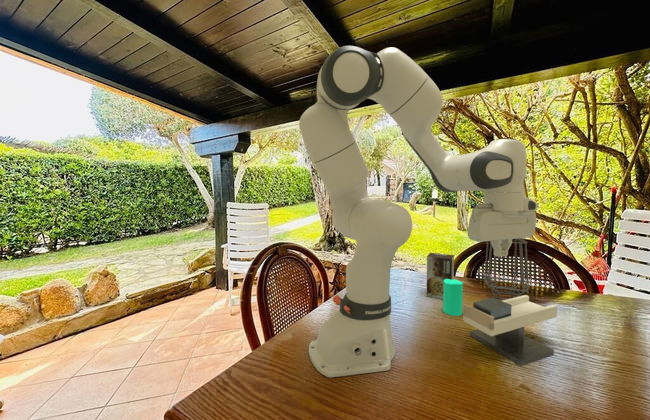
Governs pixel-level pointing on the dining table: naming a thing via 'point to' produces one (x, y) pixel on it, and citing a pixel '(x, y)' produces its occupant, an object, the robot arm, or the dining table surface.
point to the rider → (493, 308)
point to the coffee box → (438, 273)
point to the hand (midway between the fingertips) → (500, 256)
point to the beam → (520, 316)
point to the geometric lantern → (514, 271)
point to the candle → (452, 297)
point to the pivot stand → (514, 345)
